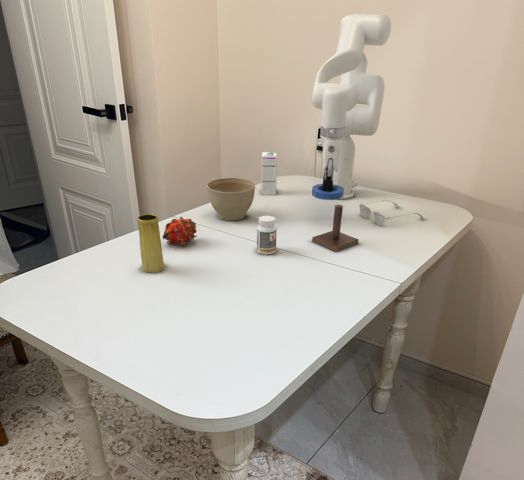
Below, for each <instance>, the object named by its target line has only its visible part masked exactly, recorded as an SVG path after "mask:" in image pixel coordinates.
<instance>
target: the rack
mask: <svg viewBox="0 0 524 480" xmlns="http://www.w3.org/2000/svg"><path fill="white" fill-rule="evenodd" d="M343 211H344V205H342V204H335V205H334V211H333V221H332V229H331V231H327V232H324V233H321V234H318V235H314V236H312V238H311V242H312V243H314V244H317V245H319V246H320V247H323V248H326V249H328V250H331V251H333V252H335V253H336V252H339V251H343V250H345V249H347V248H351V247H354V246H356V245H359V238H356V237H353V236H351V235H349V234H346V233H343V232H341V229H342V219H343Z"/></svg>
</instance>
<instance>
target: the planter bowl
mask: <svg viewBox="0 0 524 480" xmlns="http://www.w3.org/2000/svg"><path fill="white" fill-rule="evenodd" d="M206 189H207V195H208V200H209V203H210V204H211V206H212V208H213V210H214V211H215V212H216V213H217V217H218V218H219V219H221V220H224V221H241V220H242V219H244V218H245V217H246V215H247V212H248V211H249V210H250V208H251V206H252V204H253V201H254V198H255V191H256V190H255V189H256V183H255V181H253V180H250V179H247V178H241V177H220V178H215V179H212V180H209V181H208V182H207V183H206Z"/></svg>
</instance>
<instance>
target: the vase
mask: <svg viewBox="0 0 524 480" xmlns="http://www.w3.org/2000/svg"><path fill="white" fill-rule="evenodd" d="M136 221H137V227H138V233H139V234H138V235H139V251H140V259H141V269H142V271H143V272H145V273H149V274H155V273H160V272H162V271H163V270H164V269H165V266H166V265H165V261H164V256H163V255H164V254H163V248H162V247H163V246H162V240H161V231H160V225H159V217H158V215H156V214H154V213H144V214H140V215H138V216H137V217H136Z"/></svg>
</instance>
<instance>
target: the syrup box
mask: <svg viewBox="0 0 524 480" xmlns="http://www.w3.org/2000/svg"><path fill="white" fill-rule="evenodd" d="M277 157H278V153H277V152H276V151H275V152H274V151H263V152H261V171H260V172H261V173H260V174H261V183H260V184H261V186H260V187H261V190H260V191H261V193H260V194H261V195H267V196H269V195H270V196H273V195H274V196H276V195H277V175H278V173H277V172H278V170H277V169H278V167H277V166H278V165H277V164H278V160H277V159H278V158H277Z"/></svg>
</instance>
